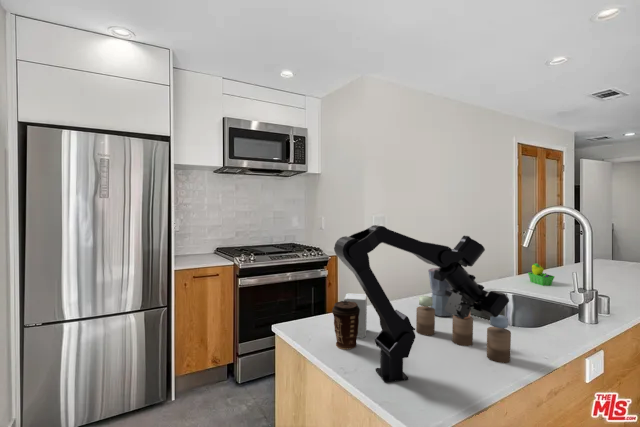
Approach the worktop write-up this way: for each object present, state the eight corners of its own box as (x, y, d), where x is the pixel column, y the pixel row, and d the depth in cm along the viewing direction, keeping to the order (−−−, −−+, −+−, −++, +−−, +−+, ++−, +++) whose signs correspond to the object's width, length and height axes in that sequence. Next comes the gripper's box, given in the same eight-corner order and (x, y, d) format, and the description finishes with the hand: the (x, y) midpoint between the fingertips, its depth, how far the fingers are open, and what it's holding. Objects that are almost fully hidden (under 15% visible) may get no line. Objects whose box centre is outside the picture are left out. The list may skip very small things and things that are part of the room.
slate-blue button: (511, 327, 95) (511, 319, 95) (497, 328, 94) (498, 320, 94) (499, 322, 99) (500, 314, 99) (486, 323, 98) (487, 315, 98)
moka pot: (438, 307, 144) (439, 260, 143) (466, 318, 130) (467, 266, 129) (420, 309, 140) (420, 261, 140) (446, 322, 126) (447, 268, 125)
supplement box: (365, 337, 111) (365, 299, 111) (343, 336, 113) (343, 298, 112) (367, 329, 118) (367, 293, 118) (346, 328, 120) (346, 292, 120)
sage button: (435, 306, 114) (435, 299, 114) (423, 307, 113) (423, 299, 113) (428, 302, 119) (428, 295, 119) (416, 303, 118) (416, 296, 118)
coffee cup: (343, 337, 112) (343, 298, 111) (365, 344, 106) (365, 303, 106) (327, 346, 105) (327, 304, 104) (349, 353, 100) (349, 310, 99)
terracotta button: (473, 318, 106) (473, 310, 106) (461, 319, 105) (461, 311, 105) (464, 313, 110) (464, 306, 110) (452, 314, 109) (452, 307, 109)
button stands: (517, 356, 98) (518, 329, 98) (504, 365, 93) (505, 336, 93) (427, 326, 122) (427, 304, 122) (412, 331, 117) (412, 308, 117)
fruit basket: (555, 285, 181) (556, 264, 180) (540, 286, 180) (541, 265, 179) (538, 280, 192) (539, 261, 192) (524, 281, 191) (525, 261, 190)
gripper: (420, 292, 100) (452, 325, 103) (465, 312, 82) (501, 351, 85) (444, 264, 102) (474, 297, 105) (492, 277, 84) (526, 317, 87)
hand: (491, 315), depth 96 cm, fingers closed
